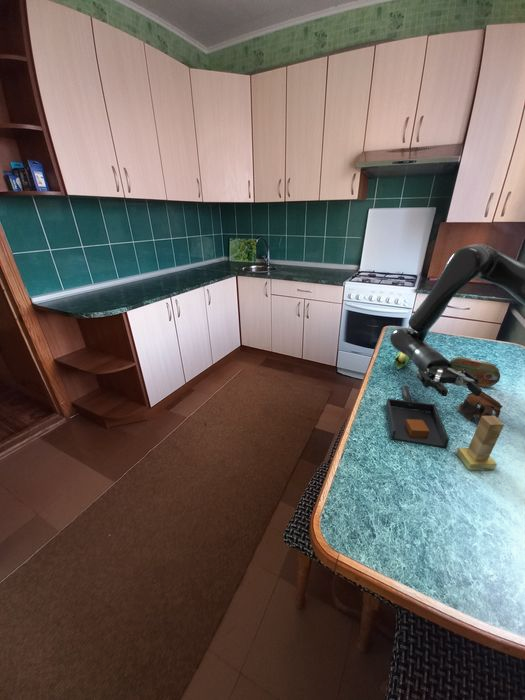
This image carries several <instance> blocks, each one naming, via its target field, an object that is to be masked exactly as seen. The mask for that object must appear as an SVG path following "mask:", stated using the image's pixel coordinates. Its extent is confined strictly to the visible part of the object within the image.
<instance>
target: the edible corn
mask: <svg viewBox="0 0 525 700" xmlns="http://www.w3.org/2000/svg"><path fill="white" fill-rule="evenodd" d="M410 360H411V359H410V358H409V357H408V356H407V355H405V354H403V353H402V352H400V351H399V350H398V352H397V355H396V356H395V357H394V363H393V365H394V366H396V369H397V370H400V369H401V368H403V367H406V366H407V364H408V363H409V361H410Z"/></svg>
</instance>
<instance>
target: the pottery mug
mask: <svg viewBox="0 0 525 700" xmlns="http://www.w3.org/2000/svg"><path fill="white" fill-rule="evenodd" d="M478 405H479V407H478ZM501 409H503V405H502V404H501V403H500V402H499V401H497V400H496V399H494V398H493V397H492V396H490V395H488V394H487V393H486V392H483V390H482V391H481V394H480V396H475V395H474V394H473V393H472V392H470V393H468V394H467V395H466V398H465V399H464V400H463V402H460V403H459V405H458V407H457V409H456V410H457V411H459V413H460V414H461V415H462V416H464V417H465V418H466V419H467V420H469V421H471V420H472V418H474V419H475V420H476V421H477V422H479V421H480V419H481V416H496V417H497V418H499V416H500V414H501ZM493 413H494V415H493Z"/></svg>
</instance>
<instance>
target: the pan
mask: <svg viewBox="0 0 525 700" xmlns="http://www.w3.org/2000/svg"><path fill="white" fill-rule="evenodd" d="M400 389H401V391H402V395H403V398H404V400H403V399H396V398H389V397H388V398H386V402H385V403H386V404H385V411H386V416H387V421H388V422H387V423H388V429H389V432H390V439H391V440H392V441H399V442H405V443H410V444H411V443H412V444H417V445H424V446H430V447H436V448H441V449H447V447H448V445H449V442H450V437H449V435H448V433H447V430H446V427H445V425H444V423H443V420H442V418H441V415H440V413H439V411H438V409H437V406H436V404H434V403H426V402H419V401H413V398H412V396H411V392H410V388H409V386H408V385H407V384H403V385H402V386H401V388H400ZM406 419H412V420H423V421H424V423H425V424H426V426H427V428H428V429H429V434H428V438H422V437H410V435H409V433H408V431H407V429H406V427H405V423H406Z"/></svg>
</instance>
